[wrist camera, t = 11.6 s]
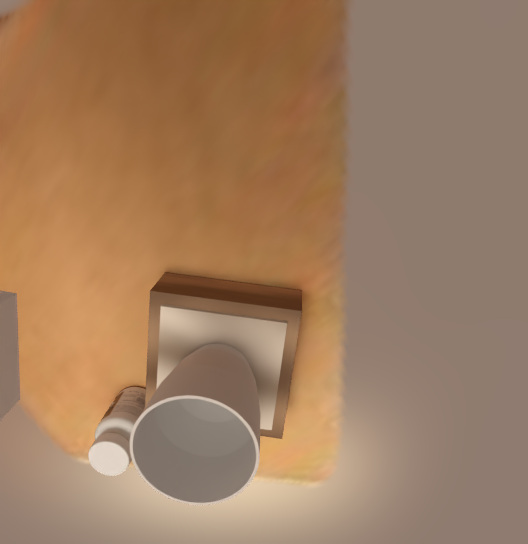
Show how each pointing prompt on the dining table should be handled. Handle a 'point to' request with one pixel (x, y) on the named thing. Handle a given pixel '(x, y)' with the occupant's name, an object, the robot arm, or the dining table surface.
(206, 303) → the pedestal
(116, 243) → the dining table surface
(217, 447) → the cup
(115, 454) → the pill bottle
